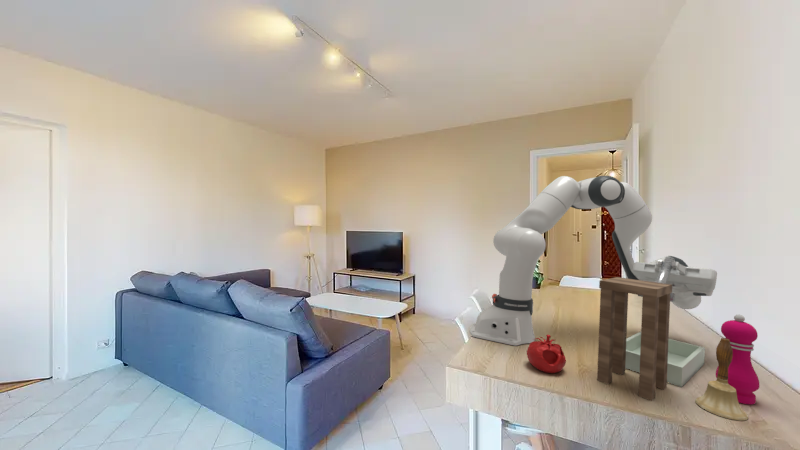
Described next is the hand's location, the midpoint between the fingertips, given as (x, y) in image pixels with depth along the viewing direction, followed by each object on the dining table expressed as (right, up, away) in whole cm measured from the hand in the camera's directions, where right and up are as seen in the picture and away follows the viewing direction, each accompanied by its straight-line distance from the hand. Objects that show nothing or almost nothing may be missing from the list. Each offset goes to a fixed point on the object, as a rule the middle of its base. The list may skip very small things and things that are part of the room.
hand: (666, 263), depth 96 cm
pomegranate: (-41, -29, -8) cm, 51 cm away
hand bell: (-10, -30, -26) cm, 41 cm away
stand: (-22, -29, -15) cm, 40 cm away
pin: (-2, -5, -2) cm, 6 cm away
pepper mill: (-1, -30, -21) cm, 36 cm away
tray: (-5, -30, -3) cm, 30 cm away
